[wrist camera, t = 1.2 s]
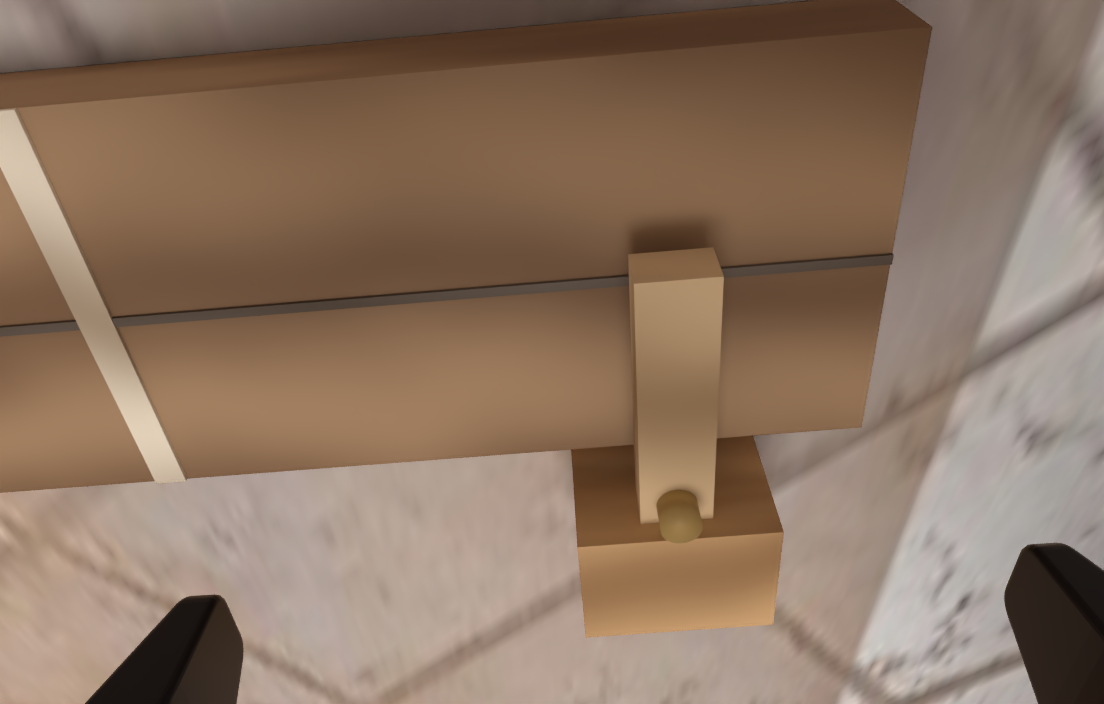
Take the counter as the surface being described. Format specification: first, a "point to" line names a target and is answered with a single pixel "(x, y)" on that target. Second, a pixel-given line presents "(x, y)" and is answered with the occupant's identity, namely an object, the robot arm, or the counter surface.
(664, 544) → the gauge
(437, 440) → the plank
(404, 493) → the counter surface
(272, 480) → the counter surface
